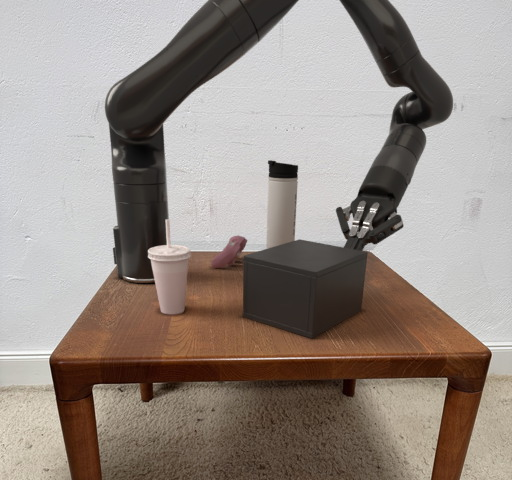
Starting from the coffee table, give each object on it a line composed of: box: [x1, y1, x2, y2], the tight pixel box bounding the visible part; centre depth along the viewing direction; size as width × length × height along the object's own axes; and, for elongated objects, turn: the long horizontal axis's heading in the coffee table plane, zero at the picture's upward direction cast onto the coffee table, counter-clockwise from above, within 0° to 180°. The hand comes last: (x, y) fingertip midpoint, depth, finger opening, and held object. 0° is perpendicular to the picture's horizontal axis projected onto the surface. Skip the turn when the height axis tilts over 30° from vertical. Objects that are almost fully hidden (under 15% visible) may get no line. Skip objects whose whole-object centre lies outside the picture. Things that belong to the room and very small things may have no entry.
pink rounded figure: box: [210, 234, 248, 269], centre depth 101 cm, size 10×5×7 cm, turn 168°
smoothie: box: [148, 218, 192, 315], centre depth 74 cm, size 6×6×14 cm
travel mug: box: [265, 159, 299, 249], centre depth 106 cm, size 6×7×20 cm
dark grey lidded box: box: [242, 239, 369, 339], centre depth 75 cm, size 15×13×10 cm
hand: (348, 259), depth 83 cm, fingers closed
